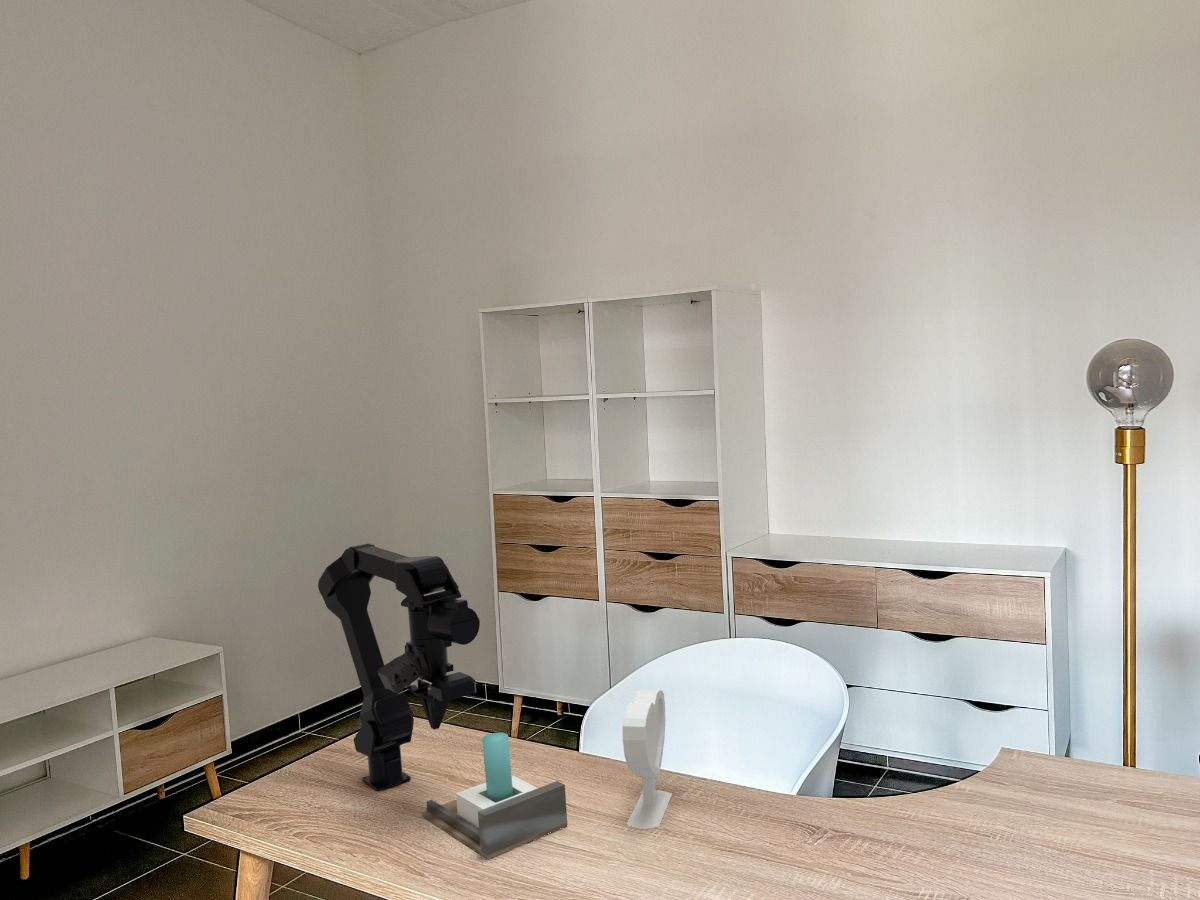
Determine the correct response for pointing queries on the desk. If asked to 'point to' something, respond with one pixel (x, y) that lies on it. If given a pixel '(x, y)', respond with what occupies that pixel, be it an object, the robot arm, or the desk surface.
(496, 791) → the dowel
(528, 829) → the rail board
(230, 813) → the desk surface
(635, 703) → the heart sculpture
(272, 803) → the desk surface
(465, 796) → the socket block
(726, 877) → the desk surface
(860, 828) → the desk surface
